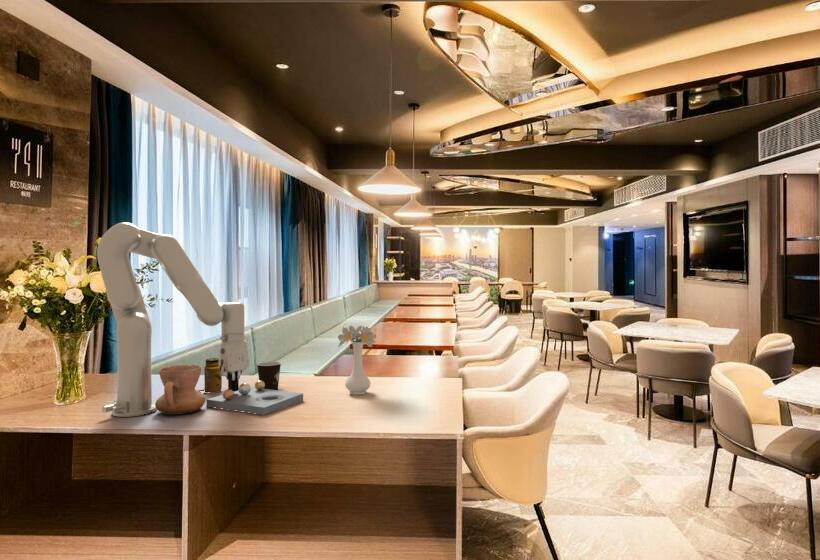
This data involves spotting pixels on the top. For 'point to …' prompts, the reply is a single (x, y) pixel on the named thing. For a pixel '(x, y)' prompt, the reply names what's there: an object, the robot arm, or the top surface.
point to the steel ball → (244, 389)
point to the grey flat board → (257, 401)
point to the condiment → (212, 376)
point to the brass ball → (259, 385)
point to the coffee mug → (269, 374)
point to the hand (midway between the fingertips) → (233, 390)
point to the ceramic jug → (180, 389)
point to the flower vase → (357, 357)
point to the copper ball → (228, 394)
